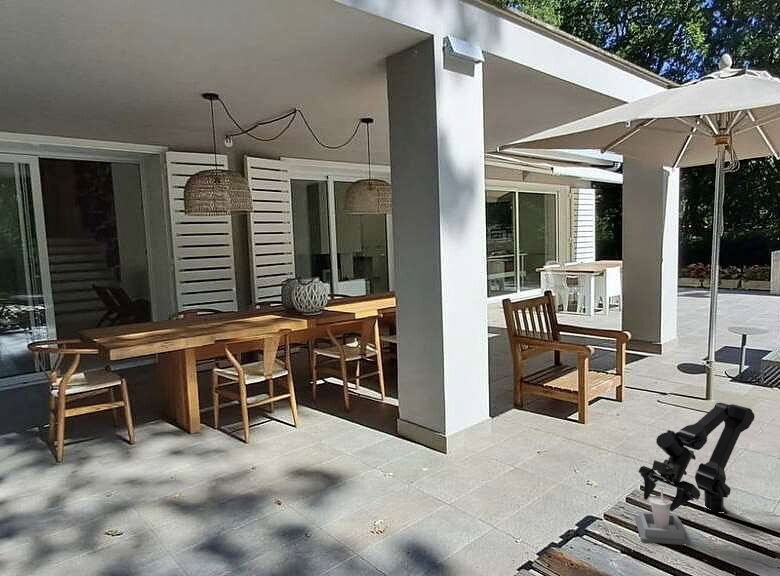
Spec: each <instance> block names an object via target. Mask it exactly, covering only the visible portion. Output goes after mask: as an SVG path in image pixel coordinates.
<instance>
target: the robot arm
mask: <svg viewBox="0 0 780 576" xmlns="http://www.w3.org/2000/svg"><path fill="white" fill-rule="evenodd" d="M754 421H755V413H754V411H753V410H752V408H750V407H745V406H741V405H737V404H734V403H731V404H728V403H723V402H716V403H715V404H714V406H713V407H712V408H711V410H709V411H708V412H707V413H706V414H704V415H703V417H701V418H700V419H699V420H698V421H697V422H695V423H693V424H689V425H686V426H684V427H682V428H681V429H680V430H679V431H677V432H675V431H674V430H670V429H668V430H667V431H666V432H663V433H660V435H658V436H657V437H656V440H655V441H656V445H657V446H658V447H659V448H660V449H661V450H662V451H663V452H664V453H665V454H666V455H667V456H669V457H668V459H664V461H663V462H661V461H658V460H653V462H652V468H650V467H647V466H646V465H642V466H640V468H638V471H637V472H638V473H639V474H640V477H642V479H643V482H644V489H643V499H644V501H647V500H648V499H649V498H650V496H651V495H652V493H653V491H654V490H655V488H656V486H657V484H656V483H657V482H661V483H663V484H666V485H668V486H671V487H673V488H676V495H675V496H674V499H672V501H671V506H670V512H674V511H675V510H676V509H677V508H679V507H680V506H682V505H684V504H685V503H688V502H689V501H694V500H697V501H699V499H700V497H701V491H700V490H702V491H703V494H704V495H703V496H704V502H705V506H706V507H707V508H709V509H711V511H710V510H707V509H704V511H705V512H706V513H711V514H712V512H724V513H723V514H726V513H727V514H728V511H727V509H726V507H725V506H724V505H725V504H724V502H725V501H724V499H725V498H729V496H730V494H731V491H732V490H731V487H730V486H729V485H727V484H726V481H727V480H726V479H727V477H726V471H725V469H726V466H727V464H728V462H729V459H730V458H731V455H732V453H733V451H734V448H735V446H736V444H737V442H738V439H739V438H740V435H741V433H743V432H744V431H746V430H747V429H749V428H750V426H751V425H752V424H753V422H754ZM723 422H724V423H723ZM722 423H723V424H724V427H723V429H722V432H721V433H720V435H719V437H718V440H717V442H716V445H715V446H714V450H712V453H711V456H710V458H709V460H708V461H707V462H706V463H703V462H700V464H699V465H698V468H697V470H696V471H695V475H694V480H695V483H696V486H695V485H694V484H693V483H691V482H688V481H685V480H682V478H683V476H687V474H688V472H687V471H686V470H687V468H688V466H689V464H690V462H691V460H694V461H695V460H696V458H697V457H696V455H695V453H694V451H695V450H696V451H700V450H701V449H702V448H703V447H704V446H705V445H706V443H707V442H708V437H709V435H710V434H711V433H712V432H713V431H715V430H716V428H717V427H719V426H720V425H721V424H722ZM690 449H692V450H690Z"/></svg>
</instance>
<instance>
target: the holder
mask: <svg viewBox="0 0 780 576" xmlns="http://www.w3.org/2000/svg"><path fill="white" fill-rule="evenodd" d="M638 513H639V515H638V516H637V515H634V520H635V525H636V526H637V531H638V535H639V538H640V541H641V542H643V543H655V544H656V543H657V544H666V545H678V546H679V545H681V544H683V545H682V546H689V545H691V540H690V539H689V536H688V534H687V532H686V530H685V527H684V525H683V523H682V521H681V519H679V517H678V514H677V513H671V512H670V514H669V524H668V529H661V528H655V523H654V518H653V512H652V511H643V510H642V511H638ZM684 544H686V545H684Z"/></svg>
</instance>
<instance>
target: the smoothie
mask: <svg viewBox="0 0 780 576" xmlns="http://www.w3.org/2000/svg"><path fill="white" fill-rule="evenodd" d="M649 504H650V506H651V512H653V518H654V523H655V528H661V529H668V524H669V514H670V513H671V511H670V506H671V504H672V500H671V499H670V498H668V497H665V496H664V488H663V487H660V495H654V496H651V497H649Z"/></svg>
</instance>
